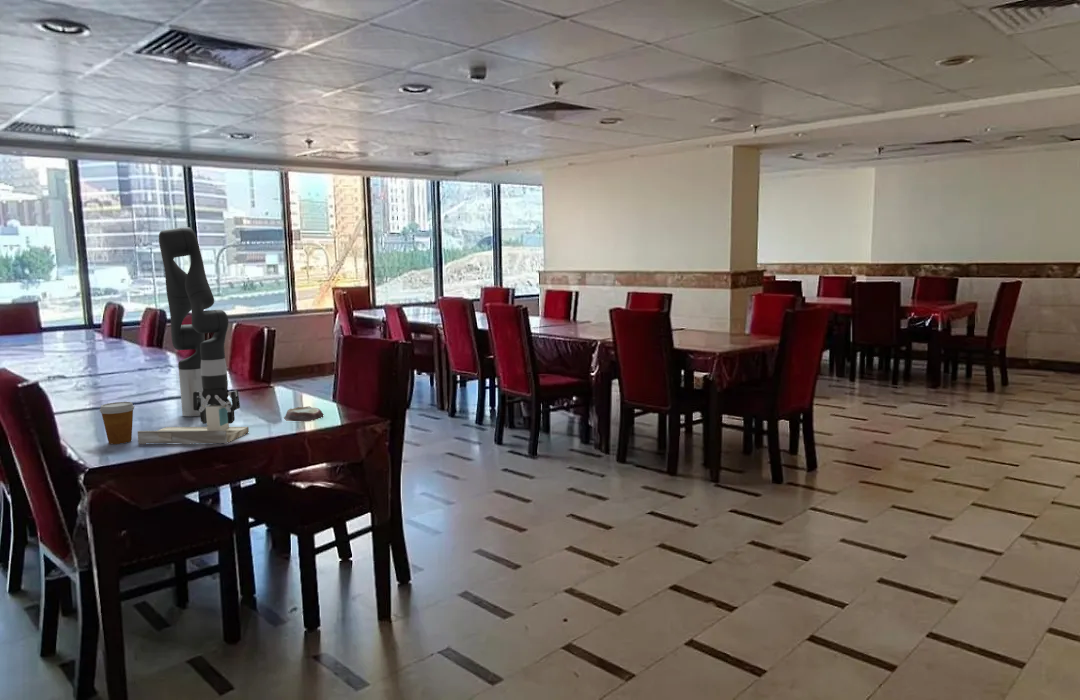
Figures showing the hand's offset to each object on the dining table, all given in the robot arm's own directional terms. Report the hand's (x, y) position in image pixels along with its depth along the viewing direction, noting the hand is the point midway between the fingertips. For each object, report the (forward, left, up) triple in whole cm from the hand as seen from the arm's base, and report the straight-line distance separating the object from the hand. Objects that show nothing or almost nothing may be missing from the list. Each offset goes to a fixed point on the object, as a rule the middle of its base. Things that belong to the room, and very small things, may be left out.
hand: (217, 423), depth 238 cm
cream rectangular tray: (+3, -6, -4) cm, 8 cm away
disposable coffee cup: (+8, -28, -4) cm, 29 cm away
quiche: (-28, +16, -5) cm, 32 cm away
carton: (0, 0, -2) cm, 2 cm away
